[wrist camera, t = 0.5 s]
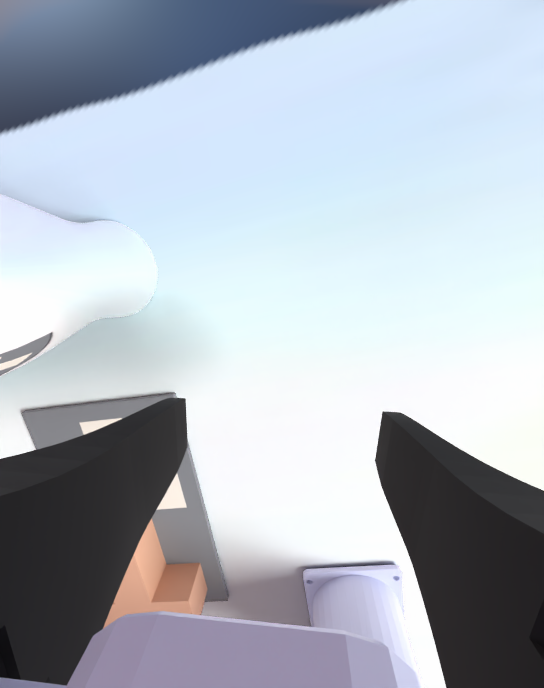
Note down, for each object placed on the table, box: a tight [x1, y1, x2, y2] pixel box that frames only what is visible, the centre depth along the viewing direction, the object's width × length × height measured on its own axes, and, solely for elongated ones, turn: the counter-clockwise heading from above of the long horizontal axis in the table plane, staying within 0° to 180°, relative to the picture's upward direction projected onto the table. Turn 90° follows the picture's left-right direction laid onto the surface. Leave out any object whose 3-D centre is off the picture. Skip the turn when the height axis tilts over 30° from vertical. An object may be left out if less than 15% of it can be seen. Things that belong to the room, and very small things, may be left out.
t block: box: [103, 519, 207, 629], centre depth 25 cm, size 8×9×3 cm
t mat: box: [21, 393, 228, 602], centre depth 25 cm, size 20×12×1 cm, turn 9°
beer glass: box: [0, 194, 158, 376], centre depth 13 cm, size 7×7×15 cm
